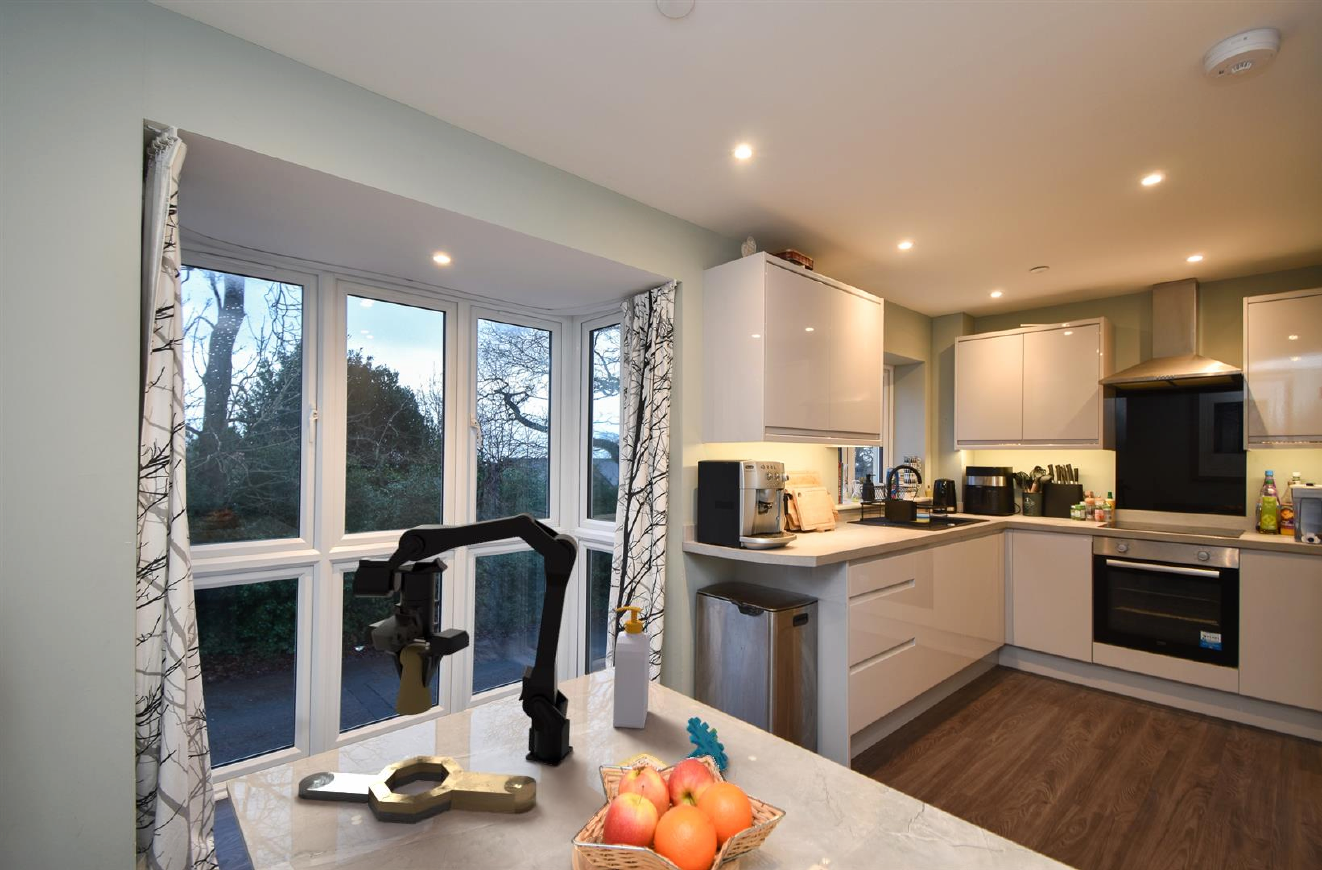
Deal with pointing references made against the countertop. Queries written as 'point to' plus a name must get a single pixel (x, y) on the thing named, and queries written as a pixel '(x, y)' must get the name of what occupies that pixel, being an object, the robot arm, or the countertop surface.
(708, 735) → the teal irregular branched piece
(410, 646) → the cork
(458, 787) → the upper chain end
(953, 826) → the countertop surface
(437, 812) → the lower chain end
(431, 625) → the robot arm
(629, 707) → the soap bottle
